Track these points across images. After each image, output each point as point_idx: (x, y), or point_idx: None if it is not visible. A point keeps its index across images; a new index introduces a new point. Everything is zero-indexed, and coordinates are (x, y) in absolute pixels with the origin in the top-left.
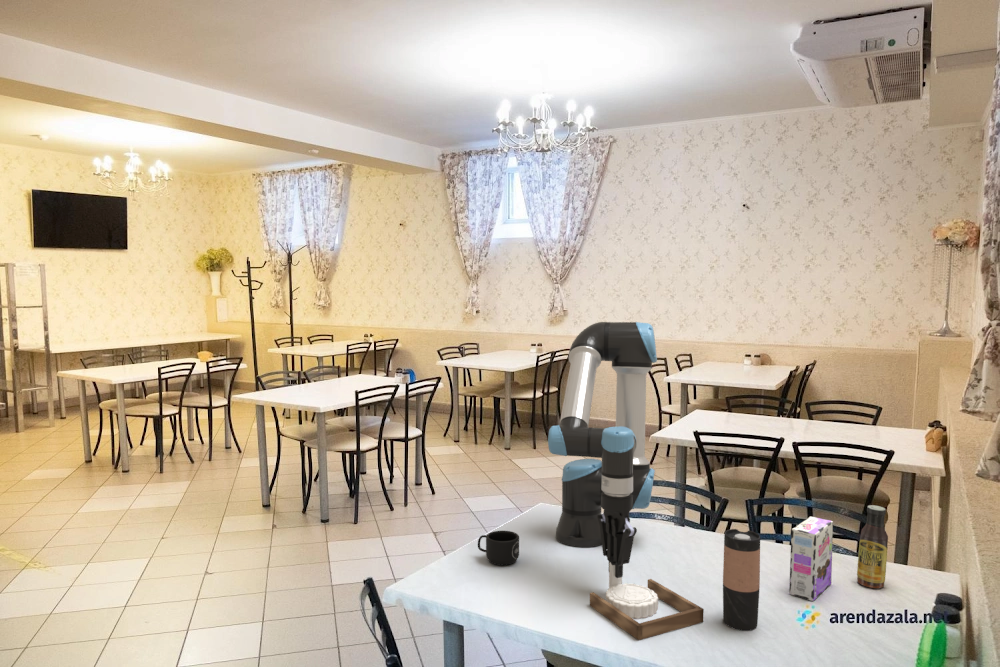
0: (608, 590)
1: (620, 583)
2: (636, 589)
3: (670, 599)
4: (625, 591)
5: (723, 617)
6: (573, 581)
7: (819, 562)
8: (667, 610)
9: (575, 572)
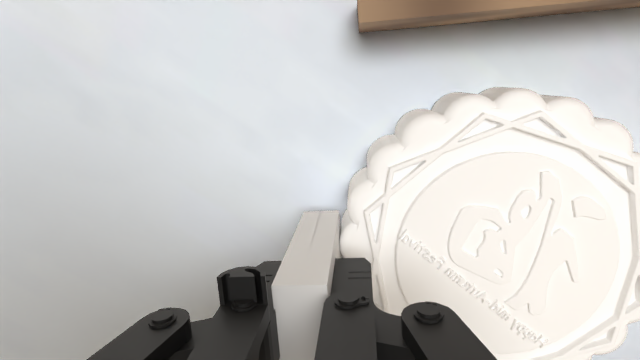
0: None
1: (338, 231)
2: (484, 209)
3: (596, 5)
4: (473, 286)
5: None
6: (110, 326)
7: None
8: (618, 70)
9: (11, 264)
